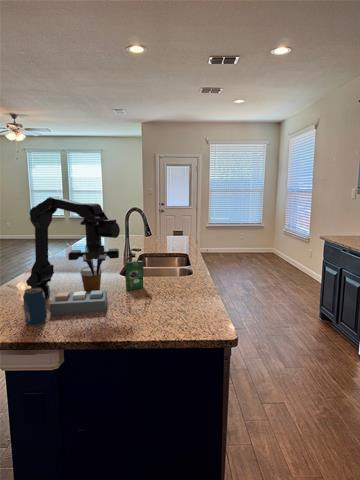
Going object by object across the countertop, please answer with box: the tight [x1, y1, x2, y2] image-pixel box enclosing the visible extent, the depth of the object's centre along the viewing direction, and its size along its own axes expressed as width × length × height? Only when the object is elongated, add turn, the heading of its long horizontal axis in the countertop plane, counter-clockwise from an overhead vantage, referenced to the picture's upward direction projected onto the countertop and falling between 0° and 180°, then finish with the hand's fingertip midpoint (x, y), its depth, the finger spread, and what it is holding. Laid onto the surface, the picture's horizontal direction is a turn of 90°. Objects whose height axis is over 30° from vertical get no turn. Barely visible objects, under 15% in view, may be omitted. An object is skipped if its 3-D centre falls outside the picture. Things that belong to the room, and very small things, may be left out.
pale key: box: [73, 291, 86, 300], centre depth 125 cm, size 4×4×4 cm
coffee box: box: [125, 260, 145, 291], centre depth 147 cm, size 8×3×13 cm, turn 119°
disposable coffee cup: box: [79, 265, 103, 292], centre depth 139 cm, size 10×10×12 cm
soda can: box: [22, 287, 48, 326], centre depth 111 cm, size 7×7×12 cm
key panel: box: [49, 290, 108, 316], centre depth 125 cm, size 20×12×4 cm, turn 99°
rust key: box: [54, 291, 70, 301], centre depth 124 cm, size 4×4×4 cm
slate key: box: [90, 289, 104, 299], centre depth 126 cm, size 4×4×4 cm
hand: (95, 275), depth 124 cm, fingers closed
